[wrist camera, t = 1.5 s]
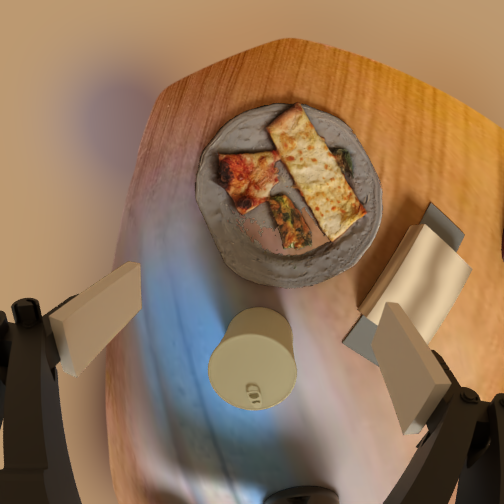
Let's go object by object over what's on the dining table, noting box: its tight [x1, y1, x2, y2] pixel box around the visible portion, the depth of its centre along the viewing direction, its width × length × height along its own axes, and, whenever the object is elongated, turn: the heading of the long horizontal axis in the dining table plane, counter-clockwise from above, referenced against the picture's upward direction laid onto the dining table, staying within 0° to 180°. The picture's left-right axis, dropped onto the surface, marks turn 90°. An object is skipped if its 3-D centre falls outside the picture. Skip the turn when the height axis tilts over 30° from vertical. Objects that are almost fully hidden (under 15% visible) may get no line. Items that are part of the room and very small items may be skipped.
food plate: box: [195, 102, 383, 289], centre depth 36 cm, size 25×23×4 cm
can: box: [208, 307, 297, 410], centre depth 33 cm, size 9×9×12 cm
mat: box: [342, 203, 465, 366], centre depth 36 cm, size 8×24×1 cm, turn 146°
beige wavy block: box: [357, 224, 472, 345], centre depth 34 cm, size 10×14×4 cm
